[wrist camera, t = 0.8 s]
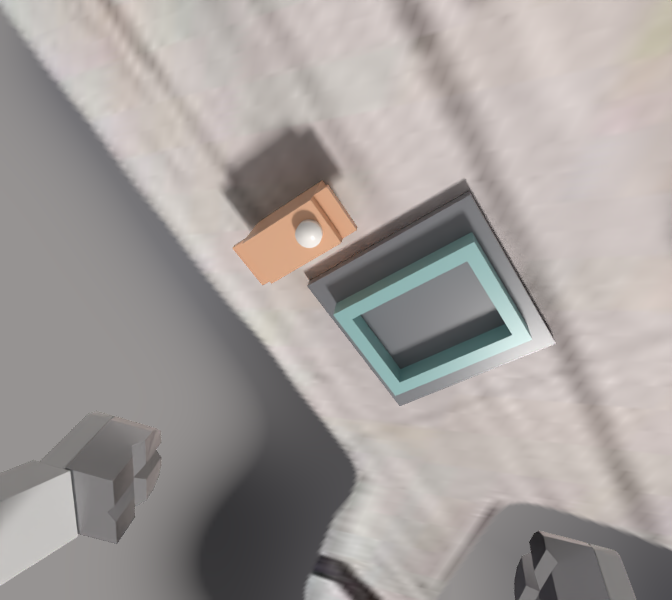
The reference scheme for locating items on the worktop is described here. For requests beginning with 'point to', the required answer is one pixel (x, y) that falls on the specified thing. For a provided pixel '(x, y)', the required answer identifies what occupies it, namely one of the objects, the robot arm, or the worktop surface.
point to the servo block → (295, 234)
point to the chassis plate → (433, 303)
